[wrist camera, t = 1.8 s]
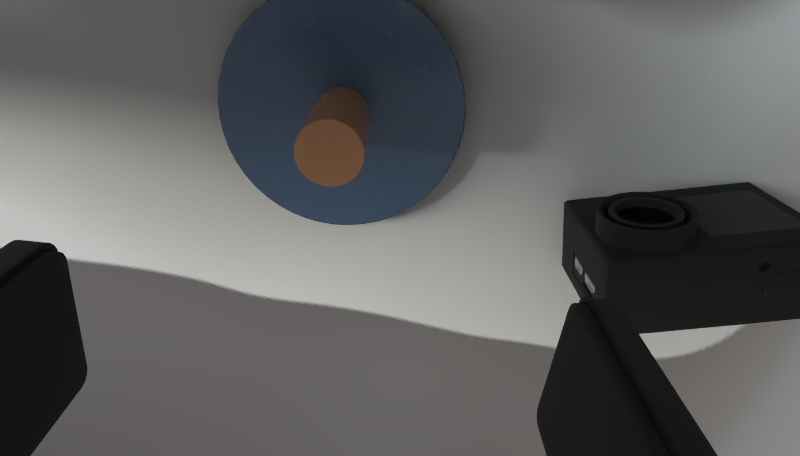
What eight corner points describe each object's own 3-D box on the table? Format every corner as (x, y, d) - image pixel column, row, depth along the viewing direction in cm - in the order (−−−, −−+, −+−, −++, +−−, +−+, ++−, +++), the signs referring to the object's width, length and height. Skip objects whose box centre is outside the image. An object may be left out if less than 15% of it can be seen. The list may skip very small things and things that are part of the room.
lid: (227, 204, 29) (181, 271, 23) (220, -39, 24) (157, -40, 18) (442, 226, 30) (456, 297, 24) (483, -4, 25) (514, 7, 18)
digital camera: (756, 160, 29) (857, 215, 22) (737, 247, 31) (825, 318, 25) (564, 180, 29) (611, 239, 23) (561, 264, 31) (602, 339, 25)
